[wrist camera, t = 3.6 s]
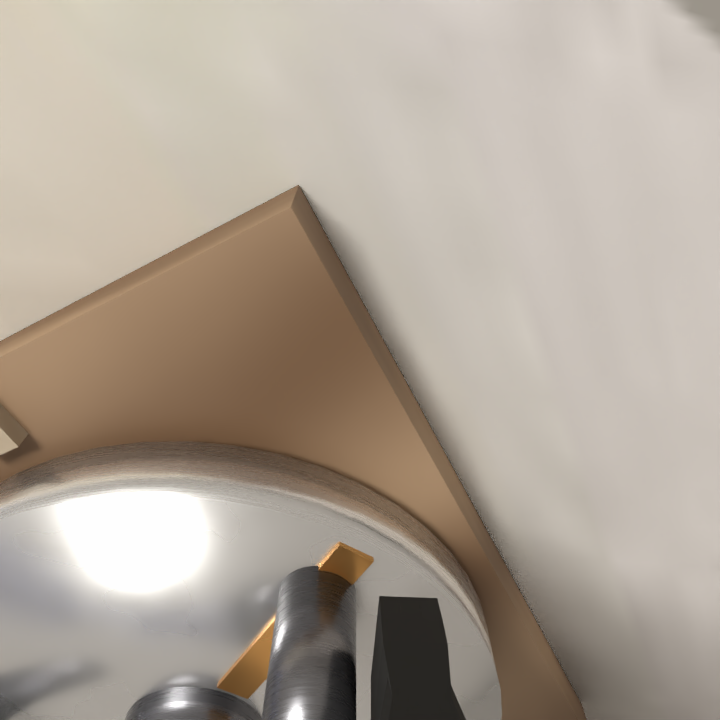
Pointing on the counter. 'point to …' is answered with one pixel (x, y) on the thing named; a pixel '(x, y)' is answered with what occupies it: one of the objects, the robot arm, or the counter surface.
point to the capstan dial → (213, 589)
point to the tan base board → (264, 398)
